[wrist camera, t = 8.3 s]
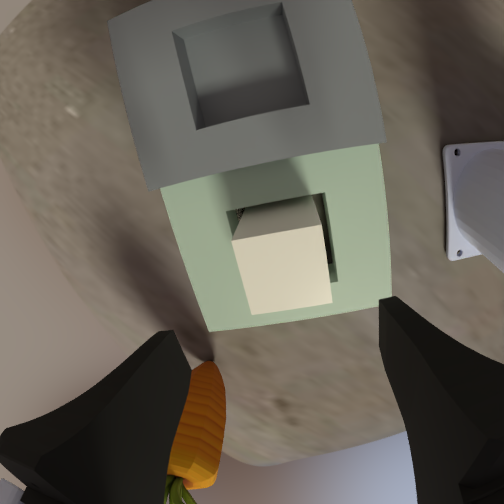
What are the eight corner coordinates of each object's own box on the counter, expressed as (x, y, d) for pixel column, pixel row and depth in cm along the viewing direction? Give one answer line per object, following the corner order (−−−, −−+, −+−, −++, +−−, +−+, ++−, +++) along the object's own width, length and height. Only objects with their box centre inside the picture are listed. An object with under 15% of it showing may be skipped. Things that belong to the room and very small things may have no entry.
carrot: (173, 342, 25) (103, 505, 11) (231, 336, 24) (185, 524, 10) (193, 383, 26) (146, 533, 13) (247, 380, 26) (219, 545, 12)
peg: (310, 192, 19) (321, 224, 13) (321, 252, 20) (332, 302, 15) (246, 204, 19) (231, 240, 14) (260, 262, 21) (251, 315, 15)
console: (138, 34, 15) (107, 20, 12) (326, -14, 13) (335, -41, 10) (216, 310, 23) (204, 346, 19) (381, 284, 21) (398, 317, 17)
